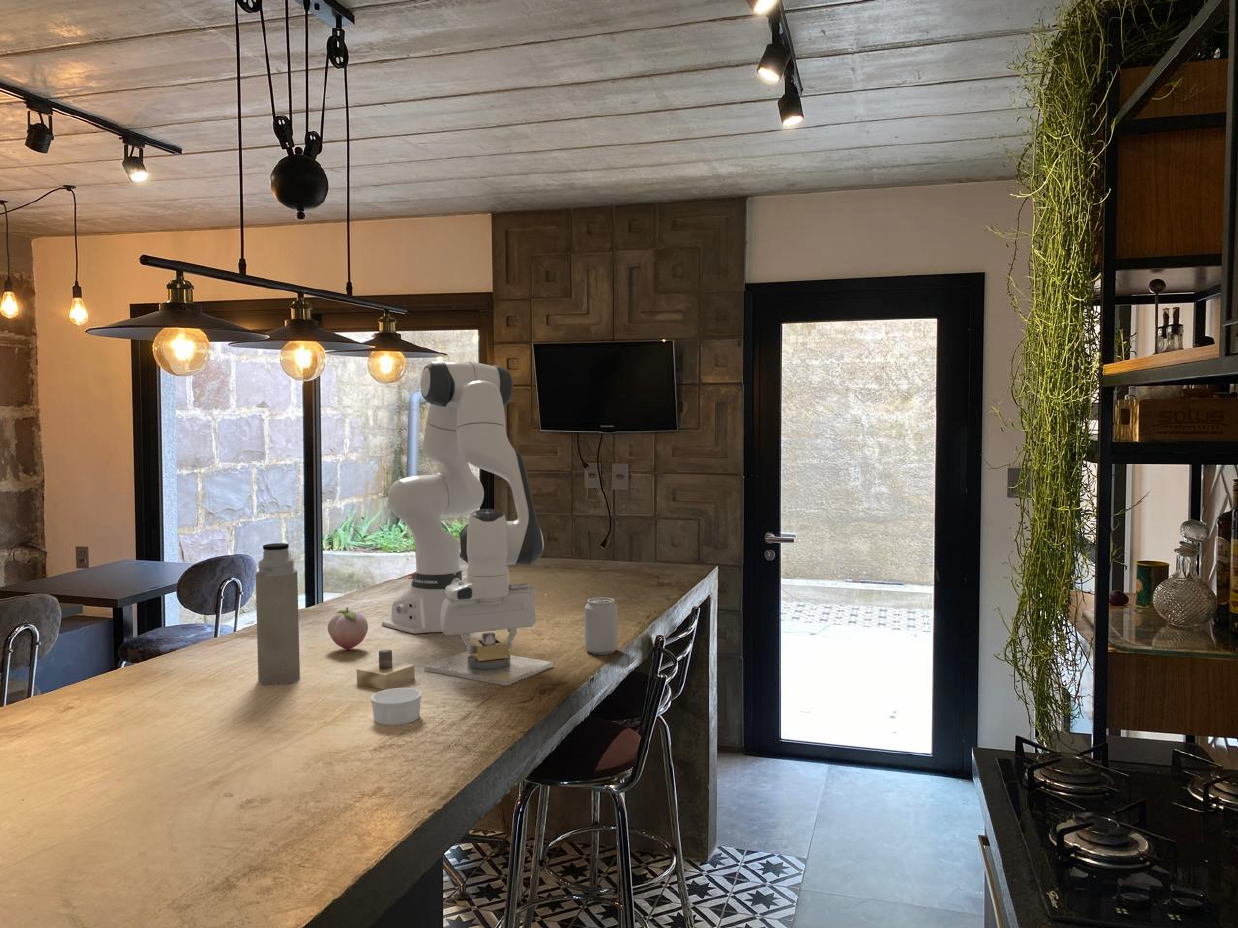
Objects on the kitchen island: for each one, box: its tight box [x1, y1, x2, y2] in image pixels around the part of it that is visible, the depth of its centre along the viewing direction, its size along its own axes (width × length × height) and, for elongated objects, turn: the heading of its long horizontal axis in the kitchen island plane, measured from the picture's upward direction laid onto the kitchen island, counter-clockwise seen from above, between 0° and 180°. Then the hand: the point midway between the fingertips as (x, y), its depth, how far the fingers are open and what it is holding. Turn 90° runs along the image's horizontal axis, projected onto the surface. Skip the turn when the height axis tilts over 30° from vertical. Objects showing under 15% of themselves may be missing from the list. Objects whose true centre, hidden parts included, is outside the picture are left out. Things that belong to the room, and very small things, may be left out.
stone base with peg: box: [423, 631, 554, 687], centre depth 192 cm, size 22×16×8 cm
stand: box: [356, 648, 416, 690], centre depth 182 cm, size 8×8×6 cm
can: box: [584, 596, 619, 656], centre depth 205 cm, size 8×8×12 cm
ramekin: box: [370, 687, 423, 726], centre depth 160 cm, size 9×9×4 cm
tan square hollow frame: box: [469, 636, 510, 661], centre depth 192 cm, size 7×7×3 cm
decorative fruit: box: [327, 606, 369, 651], centre depth 208 cm, size 9×8×10 cm
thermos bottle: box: [255, 542, 301, 686], centre depth 184 cm, size 8×8×28 cm
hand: (489, 651), depth 192 cm, fingers closed on tan square hollow frame, 6 cm apart
